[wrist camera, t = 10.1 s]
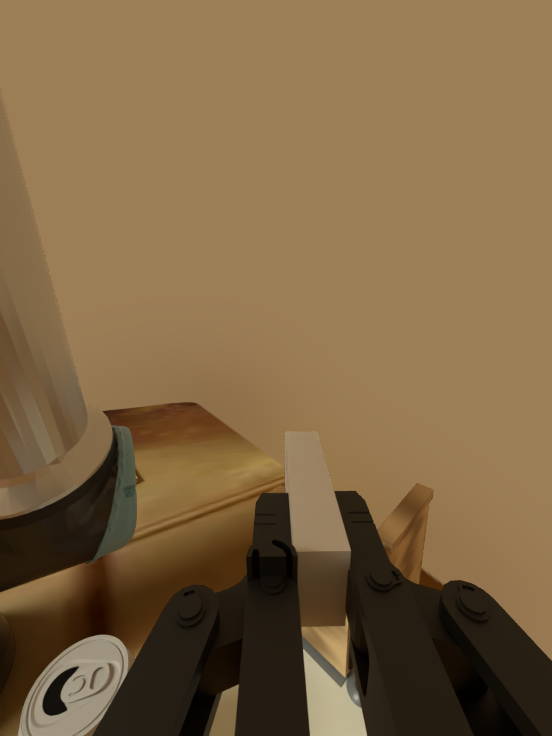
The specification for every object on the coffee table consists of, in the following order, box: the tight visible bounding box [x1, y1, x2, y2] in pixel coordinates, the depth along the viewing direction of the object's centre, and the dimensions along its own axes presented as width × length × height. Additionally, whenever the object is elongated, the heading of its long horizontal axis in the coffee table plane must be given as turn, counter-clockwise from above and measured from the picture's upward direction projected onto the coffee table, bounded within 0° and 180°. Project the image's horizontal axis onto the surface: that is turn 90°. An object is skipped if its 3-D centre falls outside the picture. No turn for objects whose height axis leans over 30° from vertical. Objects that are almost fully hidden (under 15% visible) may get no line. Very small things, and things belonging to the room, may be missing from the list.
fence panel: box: [269, 485, 358, 691], centre depth 29 cm, size 11×2×15 cm, turn 46°
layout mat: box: [209, 636, 367, 736], centre depth 30 cm, size 16×24×1 cm, turn 135°
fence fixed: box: [377, 483, 433, 584], centre depth 30 cm, size 9×2×15 cm, turn 136°
